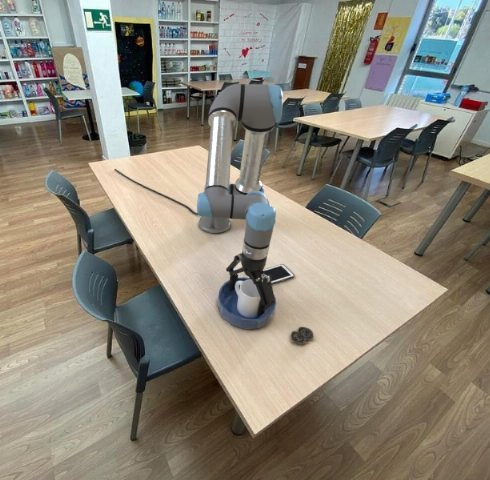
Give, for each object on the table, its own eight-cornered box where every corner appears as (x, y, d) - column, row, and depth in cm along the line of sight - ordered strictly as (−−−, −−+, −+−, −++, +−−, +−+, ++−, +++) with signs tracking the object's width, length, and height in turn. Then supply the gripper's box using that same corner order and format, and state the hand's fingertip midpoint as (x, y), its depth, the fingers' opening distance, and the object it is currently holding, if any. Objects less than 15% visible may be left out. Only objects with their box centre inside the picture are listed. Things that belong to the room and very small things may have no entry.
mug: (225, 299, 100) (227, 278, 94) (243, 290, 104) (246, 269, 98) (247, 323, 92) (251, 301, 86) (266, 312, 95) (271, 291, 89)
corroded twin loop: (286, 336, 89) (286, 333, 88) (304, 326, 92) (305, 324, 91) (297, 348, 85) (298, 346, 84) (316, 337, 88) (317, 335, 88)
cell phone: (252, 274, 111) (252, 272, 111) (282, 265, 116) (283, 263, 115) (263, 287, 106) (263, 285, 105) (294, 277, 110) (295, 275, 109)
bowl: (206, 301, 100) (207, 291, 97) (245, 280, 109) (247, 270, 106) (244, 340, 87) (246, 330, 84) (285, 312, 96) (288, 302, 93)
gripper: (218, 237, 90) (214, 284, 103) (278, 282, 74) (265, 332, 87) (235, 229, 94) (230, 276, 106) (296, 271, 77) (281, 320, 90)
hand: (246, 301), depth 97 cm, fingers open, 13 cm apart
